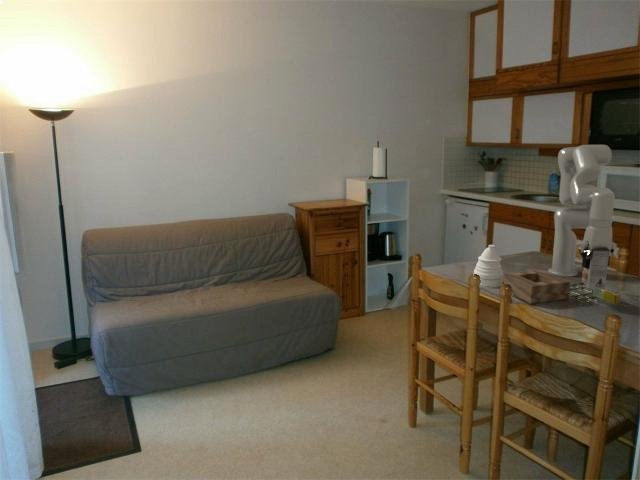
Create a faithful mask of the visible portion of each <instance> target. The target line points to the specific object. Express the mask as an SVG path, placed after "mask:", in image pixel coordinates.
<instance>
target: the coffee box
mask: <svg viewBox="0 0 640 480" xmlns="http://www.w3.org/2000/svg"><path fill="white" fill-rule="evenodd" d="M589 251H590V249H589ZM609 252H610V250H609V249H608V248H607V247H606V248H596V249H592V252H591V255H590V257H589V259H590V266H589V269H586V268H584V267H582V277H581V282H582V283H583V284H584V285H585V287H586V289H589V290H592V289H606V283H607V274H608V267H609V266H608V260H609ZM587 254H588V252H587Z"/></svg>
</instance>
